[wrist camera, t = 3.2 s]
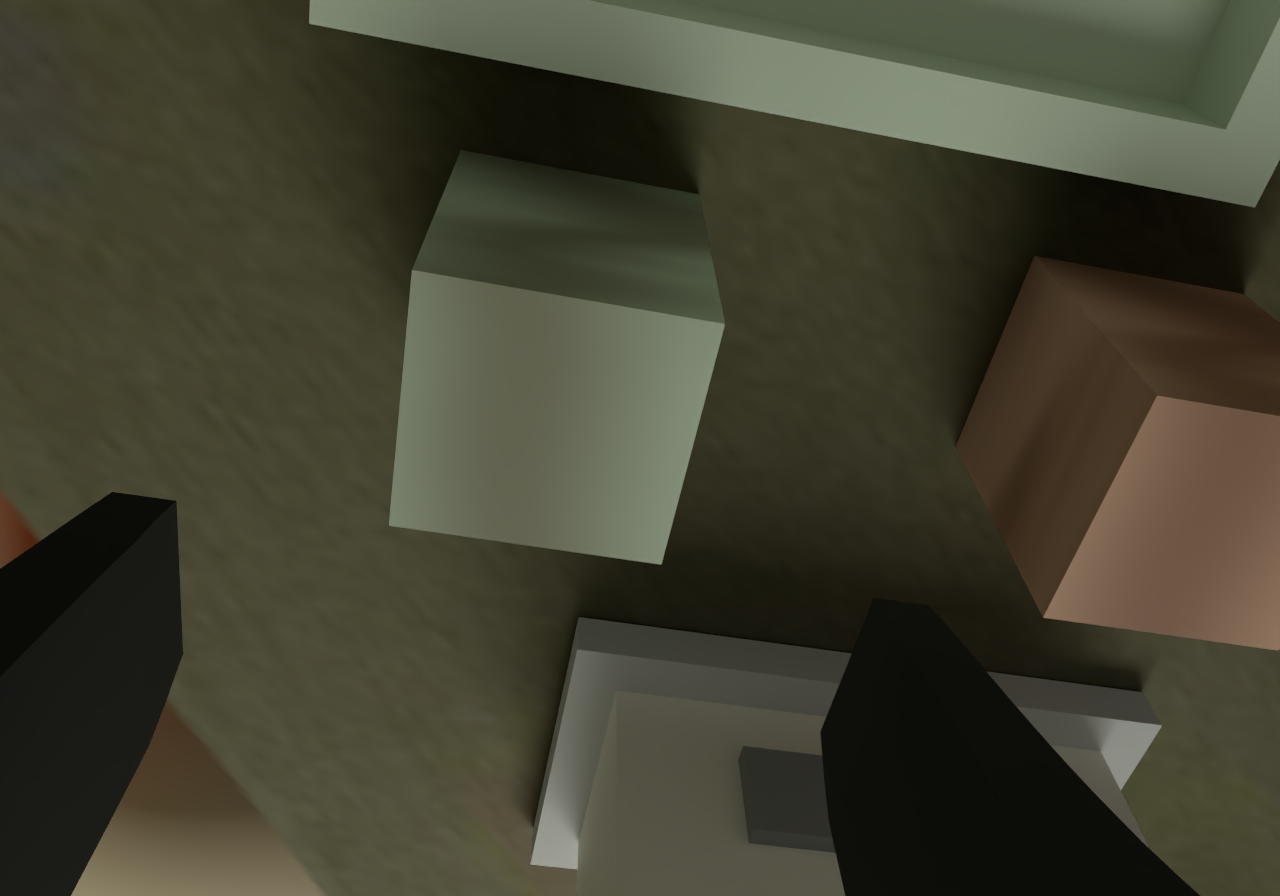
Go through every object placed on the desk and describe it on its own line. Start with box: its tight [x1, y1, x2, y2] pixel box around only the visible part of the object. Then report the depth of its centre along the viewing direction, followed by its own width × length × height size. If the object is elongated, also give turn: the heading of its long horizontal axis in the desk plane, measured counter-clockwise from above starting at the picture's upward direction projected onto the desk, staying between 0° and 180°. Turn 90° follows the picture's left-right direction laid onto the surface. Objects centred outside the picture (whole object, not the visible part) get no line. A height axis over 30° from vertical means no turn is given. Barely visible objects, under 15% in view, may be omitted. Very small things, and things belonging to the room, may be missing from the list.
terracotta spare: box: [956, 256, 1280, 650], centre depth 18 cm, size 4×4×5 cm
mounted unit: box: [530, 617, 1162, 896], centre depth 23 cm, size 13×7×6 cm, turn 79°
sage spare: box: [389, 150, 725, 565], centre depth 17 cm, size 4×4×5 cm
